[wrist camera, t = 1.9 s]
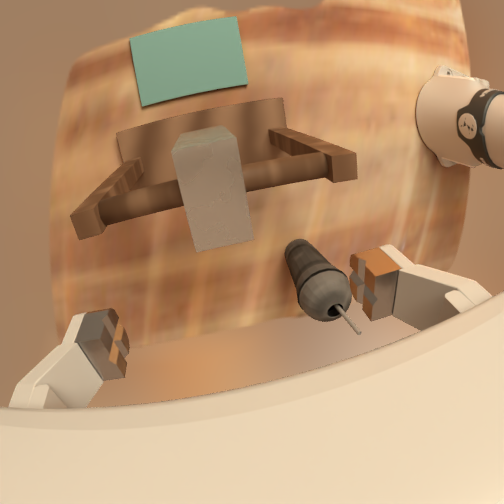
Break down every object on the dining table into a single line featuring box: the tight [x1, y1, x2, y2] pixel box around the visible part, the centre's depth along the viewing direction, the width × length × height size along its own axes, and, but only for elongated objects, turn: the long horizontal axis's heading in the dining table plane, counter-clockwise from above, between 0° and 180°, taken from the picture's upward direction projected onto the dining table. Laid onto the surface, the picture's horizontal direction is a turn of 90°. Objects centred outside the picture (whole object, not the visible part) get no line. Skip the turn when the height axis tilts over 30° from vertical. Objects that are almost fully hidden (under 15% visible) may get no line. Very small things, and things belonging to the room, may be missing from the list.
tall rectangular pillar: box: [171, 125, 254, 252], centre depth 24 cm, size 4×7×11 cm, turn 9°
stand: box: [70, 98, 358, 240], centre depth 30 cm, size 22×10×22 cm, turn 99°
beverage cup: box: [285, 239, 361, 335], centre depth 41 cm, size 7×7×20 cm
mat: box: [130, 16, 248, 106], centre depth 33 cm, size 14×10×1 cm
